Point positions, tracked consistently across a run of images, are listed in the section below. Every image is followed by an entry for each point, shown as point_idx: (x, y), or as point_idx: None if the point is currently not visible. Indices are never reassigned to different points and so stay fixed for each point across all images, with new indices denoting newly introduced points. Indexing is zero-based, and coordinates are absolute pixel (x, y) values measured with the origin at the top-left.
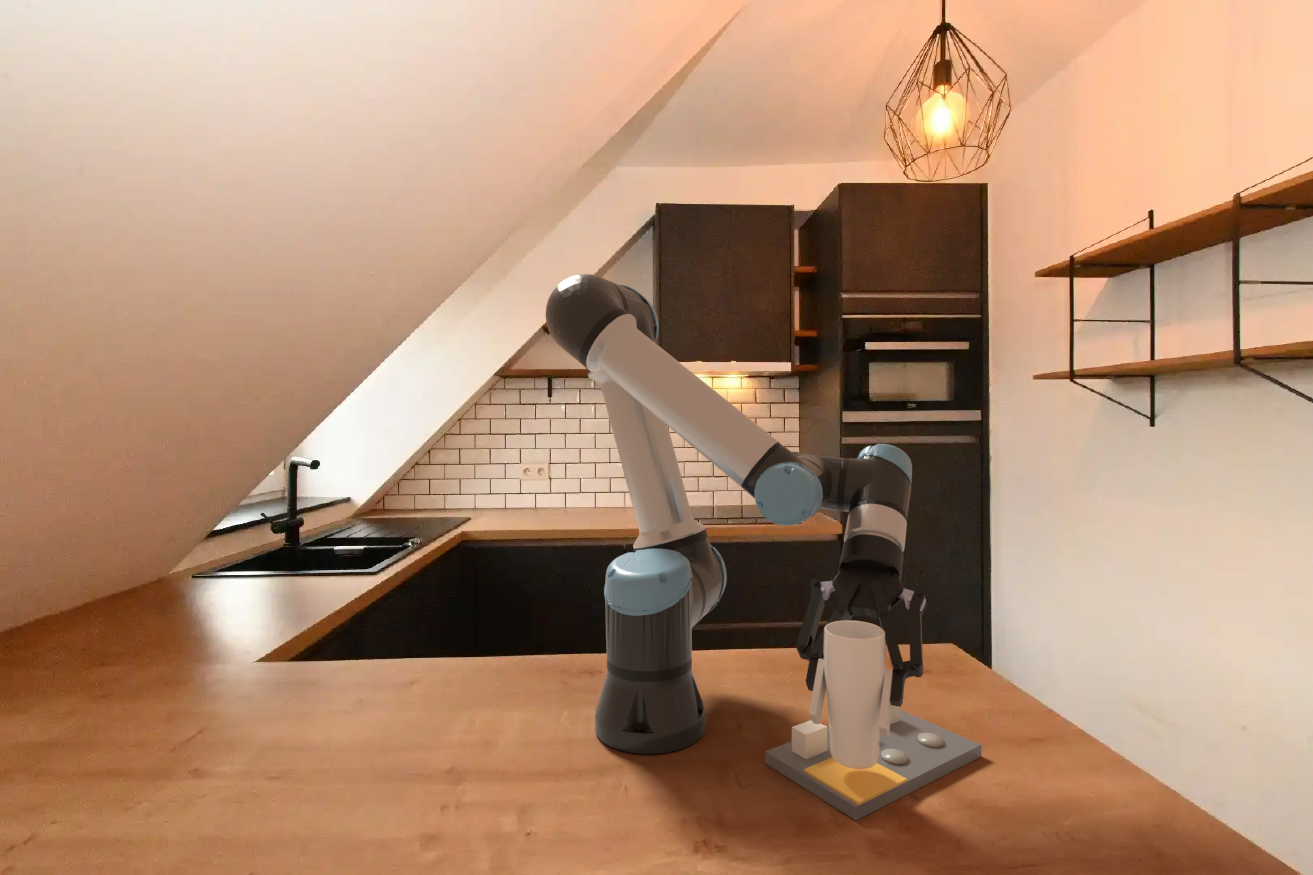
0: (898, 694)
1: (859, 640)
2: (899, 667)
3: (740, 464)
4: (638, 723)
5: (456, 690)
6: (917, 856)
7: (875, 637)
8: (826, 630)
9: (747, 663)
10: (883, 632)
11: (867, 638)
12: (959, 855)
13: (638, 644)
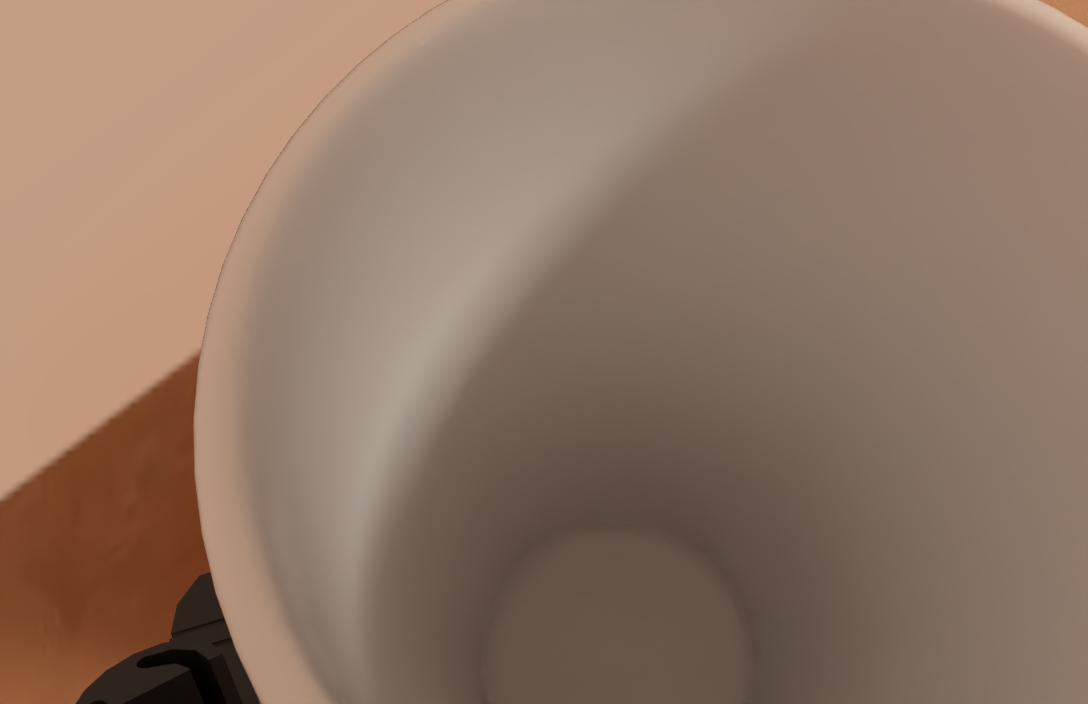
0: (205, 607)
1: (449, 9)
2: (129, 660)
3: None
4: None
5: None
6: (189, 409)
7: (258, 198)
8: (1079, 25)
9: None
10: (231, 556)
11: (359, 93)
12: (48, 524)
13: None
